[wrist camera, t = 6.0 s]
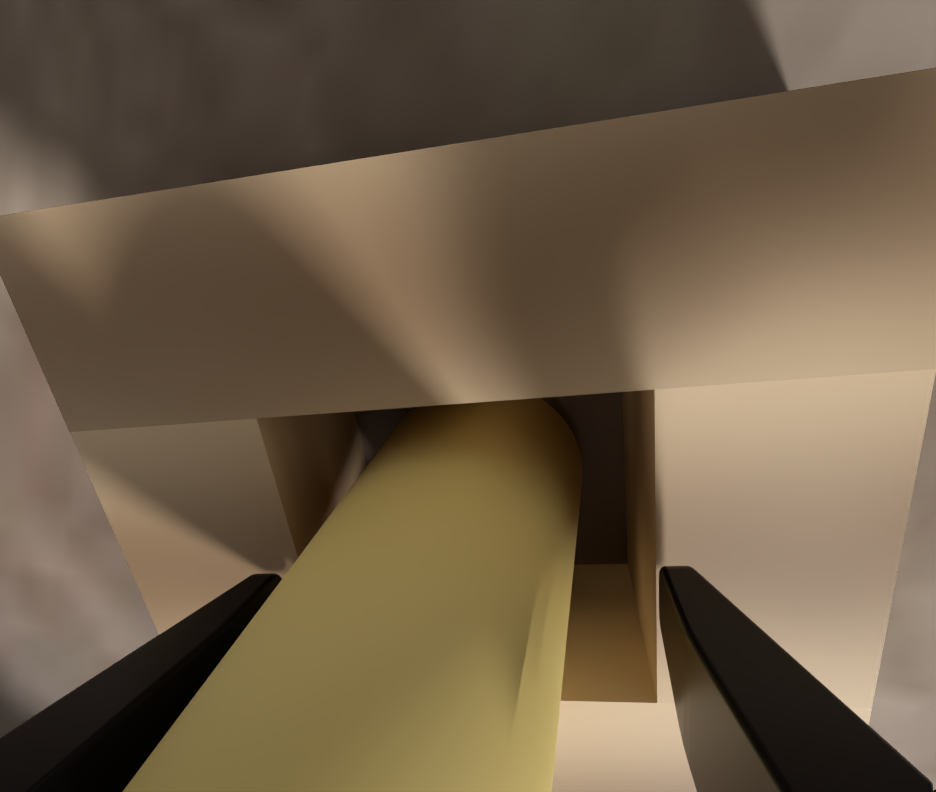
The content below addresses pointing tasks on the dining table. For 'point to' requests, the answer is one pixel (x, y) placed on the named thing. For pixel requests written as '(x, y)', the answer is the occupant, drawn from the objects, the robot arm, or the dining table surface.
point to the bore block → (534, 367)
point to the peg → (406, 626)
